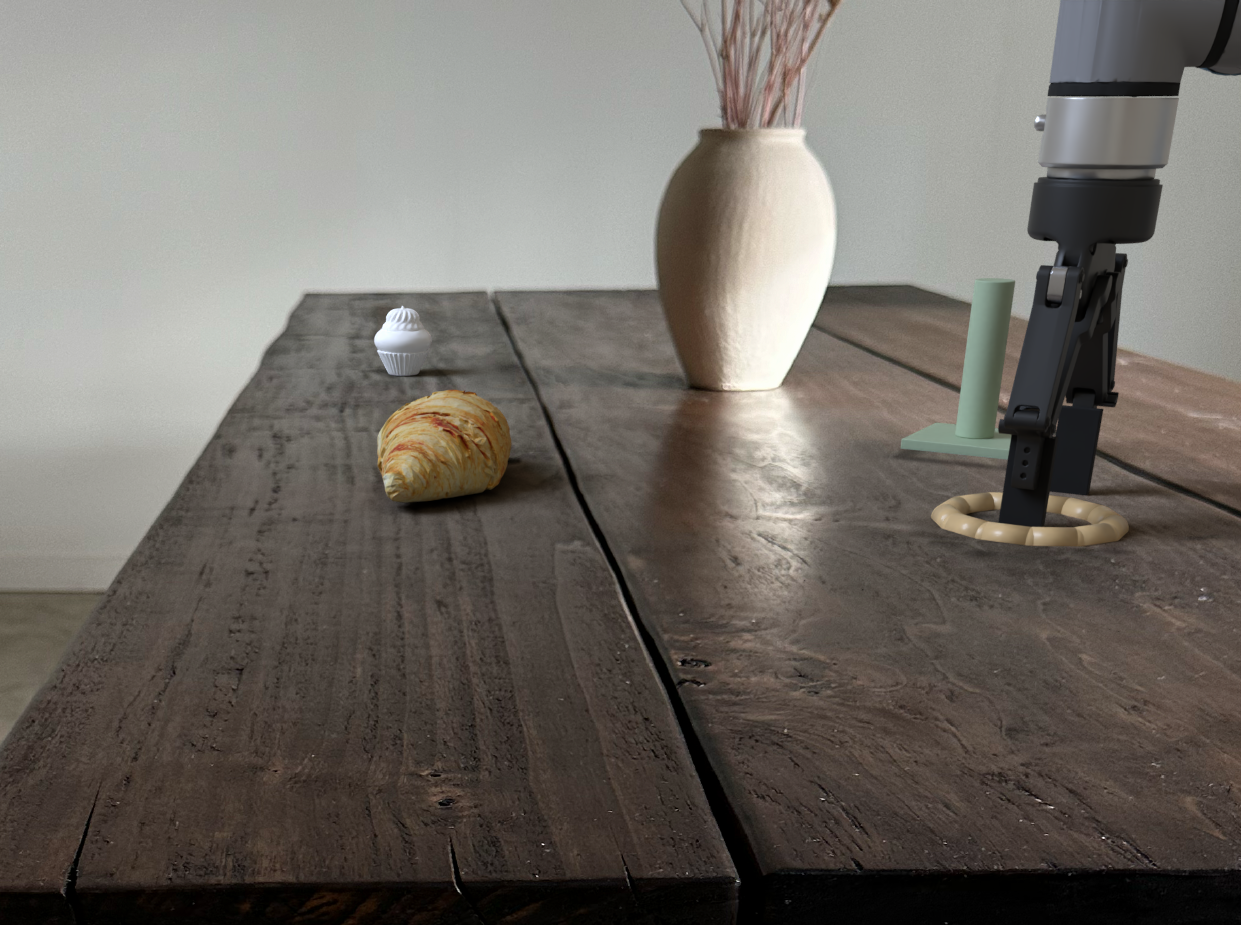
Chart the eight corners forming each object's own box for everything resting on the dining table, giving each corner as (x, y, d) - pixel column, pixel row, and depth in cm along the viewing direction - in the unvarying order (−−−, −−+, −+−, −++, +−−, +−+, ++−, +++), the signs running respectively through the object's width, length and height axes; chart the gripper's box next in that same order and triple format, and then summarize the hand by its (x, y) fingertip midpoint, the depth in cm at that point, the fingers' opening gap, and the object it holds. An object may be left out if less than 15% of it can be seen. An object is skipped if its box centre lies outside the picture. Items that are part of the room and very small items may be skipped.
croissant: (435, 564, 111) (487, 466, 107) (313, 489, 112) (361, 388, 108) (515, 495, 129) (563, 409, 125) (411, 431, 130) (455, 343, 126)
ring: (1140, 530, 106) (1145, 503, 105) (1100, 569, 97) (1105, 539, 96) (961, 508, 112) (965, 483, 111) (907, 543, 103) (911, 515, 102)
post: (1043, 451, 131) (1069, 278, 125) (1013, 469, 124) (1039, 287, 119) (933, 440, 135) (954, 272, 130) (899, 457, 129) (919, 281, 123)
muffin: (431, 378, 168) (431, 308, 166) (373, 378, 168) (372, 308, 166) (432, 369, 174) (432, 302, 171) (376, 369, 174) (375, 302, 171)
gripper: (1082, 167, 110) (1033, 480, 119) (983, 178, 92) (933, 547, 101) (1199, 169, 107) (1139, 493, 115) (1120, 181, 88) (1056, 564, 97)
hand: (1043, 518), depth 108 cm, fingers open, 12 cm apart
